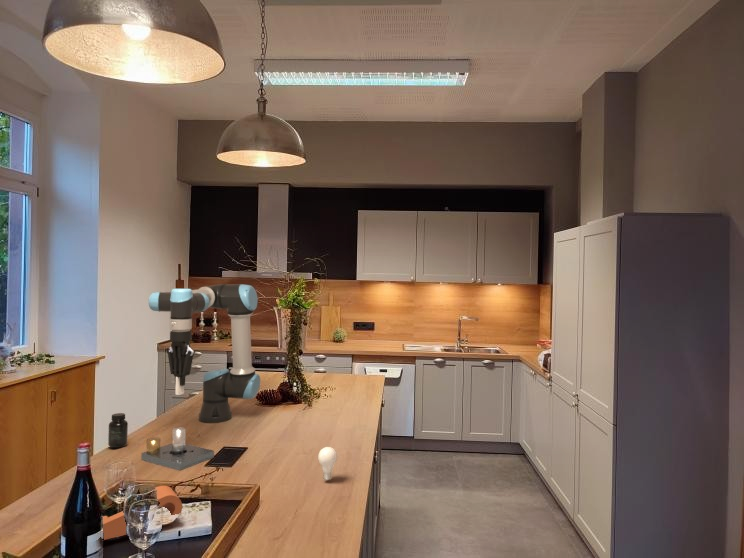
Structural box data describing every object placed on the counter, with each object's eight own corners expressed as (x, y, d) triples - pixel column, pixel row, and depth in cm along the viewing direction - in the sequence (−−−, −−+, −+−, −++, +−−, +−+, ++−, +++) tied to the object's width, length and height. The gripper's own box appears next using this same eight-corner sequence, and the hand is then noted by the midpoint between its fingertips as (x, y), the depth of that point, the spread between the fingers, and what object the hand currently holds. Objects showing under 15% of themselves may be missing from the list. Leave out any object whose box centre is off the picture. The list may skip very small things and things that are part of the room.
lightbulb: (317, 476, 180) (318, 444, 180) (336, 476, 181) (337, 444, 181) (317, 483, 174) (318, 450, 174) (336, 483, 174) (337, 450, 174)
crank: (174, 510, 152) (174, 483, 152) (181, 521, 146) (182, 492, 146) (96, 528, 141) (97, 498, 141) (101, 540, 134) (102, 509, 134)
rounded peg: (168, 459, 194) (169, 429, 194) (178, 455, 198) (179, 426, 198) (177, 461, 192) (178, 431, 192) (187, 458, 196) (188, 428, 196)
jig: (140, 459, 193) (141, 440, 193) (176, 448, 207) (176, 430, 207) (179, 470, 183) (180, 450, 183) (214, 457, 197) (214, 438, 197)
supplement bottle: (113, 441, 213) (114, 412, 213) (130, 442, 212) (131, 412, 212) (104, 447, 206) (105, 416, 206) (121, 447, 206) (122, 417, 206)
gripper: (160, 330, 195) (159, 393, 195) (185, 332, 188) (184, 398, 188) (176, 328, 201) (175, 390, 201) (201, 330, 195) (200, 394, 195)
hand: (179, 394), depth 195 cm, fingers closed
